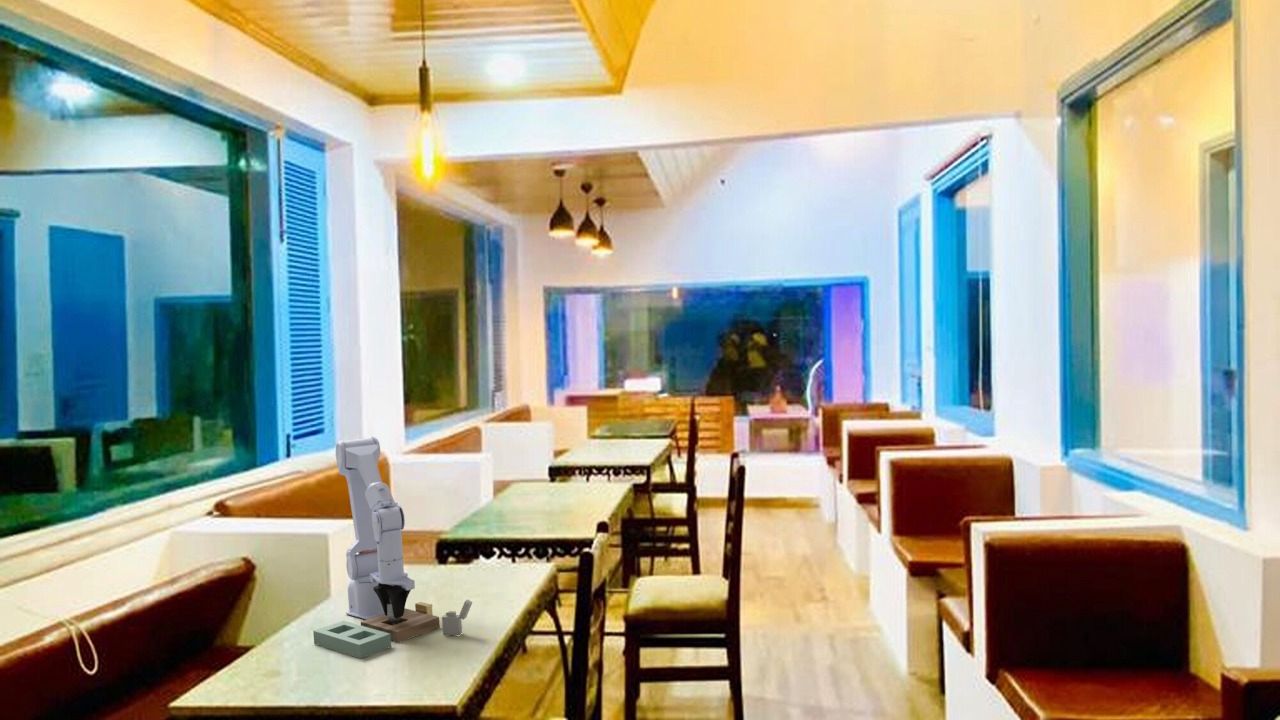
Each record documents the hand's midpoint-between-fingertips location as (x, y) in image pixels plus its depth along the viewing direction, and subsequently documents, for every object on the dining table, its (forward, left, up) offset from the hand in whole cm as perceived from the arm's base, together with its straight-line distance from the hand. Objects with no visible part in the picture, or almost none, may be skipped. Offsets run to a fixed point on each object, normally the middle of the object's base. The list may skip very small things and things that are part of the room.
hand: (394, 615), depth 216 cm
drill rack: (-1, -11, -4) cm, 12 cm away
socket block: (0, +1, -4) cm, 4 cm away
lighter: (+15, +6, -4) cm, 17 cm away
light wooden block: (0, +7, -4) cm, 7 cm away
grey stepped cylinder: (0, 0, -3) cm, 3 cm away
